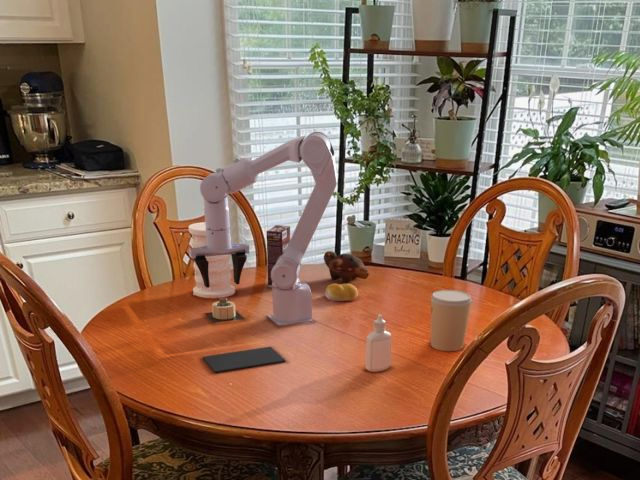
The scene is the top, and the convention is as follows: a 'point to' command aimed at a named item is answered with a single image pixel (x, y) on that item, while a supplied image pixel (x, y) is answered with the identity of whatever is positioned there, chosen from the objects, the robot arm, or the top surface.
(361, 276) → the decorative turtle
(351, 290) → the bread roll
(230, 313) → the wooden ring
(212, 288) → the decorative container
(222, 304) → the tape post
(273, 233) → the supplement box
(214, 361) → the mat
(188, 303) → the top surface
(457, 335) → the white canister
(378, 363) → the eye dropper bottle
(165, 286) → the top surface
